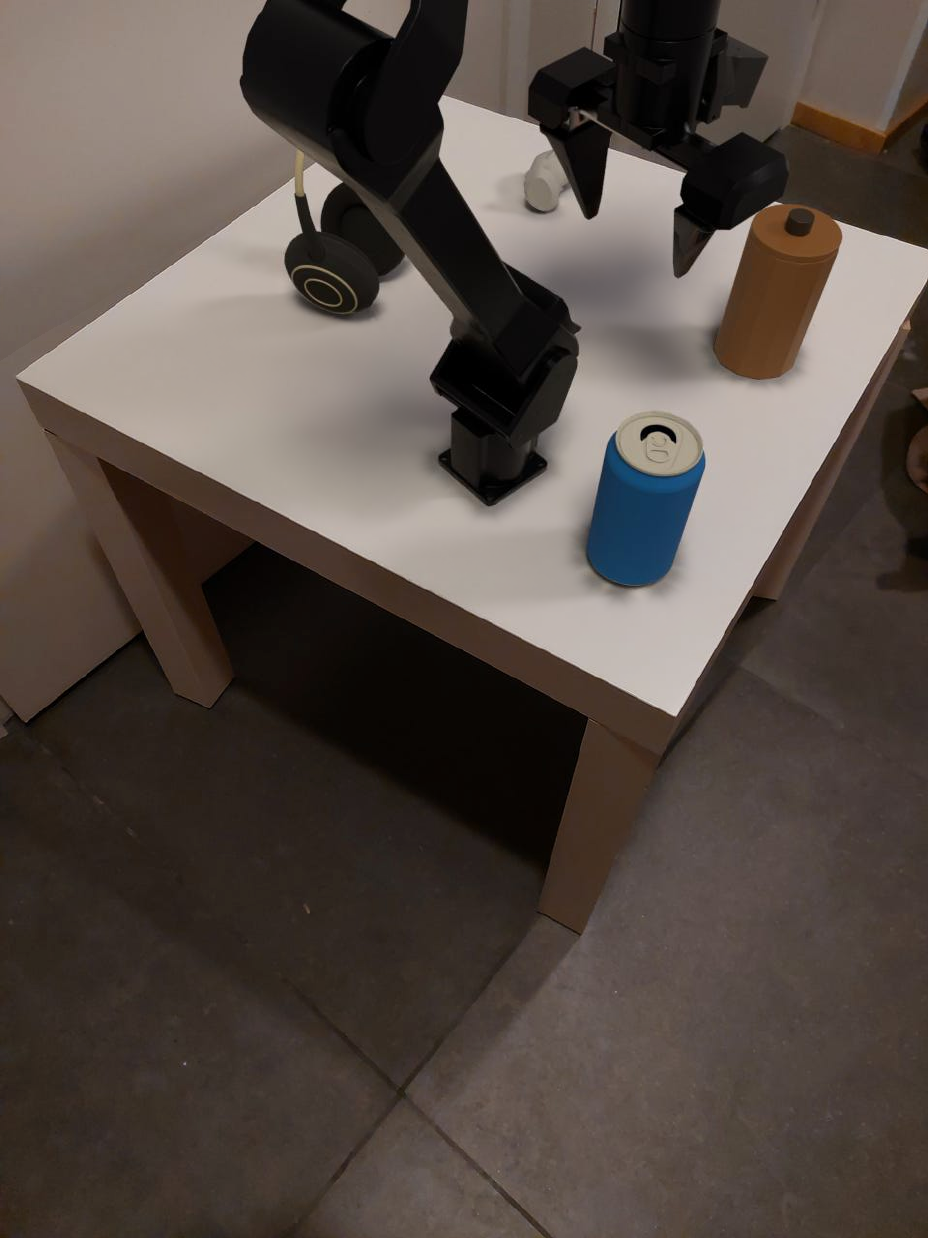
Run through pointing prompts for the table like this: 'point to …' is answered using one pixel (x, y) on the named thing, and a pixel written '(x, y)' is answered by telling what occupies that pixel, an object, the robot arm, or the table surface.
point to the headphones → (339, 250)
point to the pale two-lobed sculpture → (544, 181)
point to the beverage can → (644, 497)
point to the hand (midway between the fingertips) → (634, 245)
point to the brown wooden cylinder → (776, 289)
